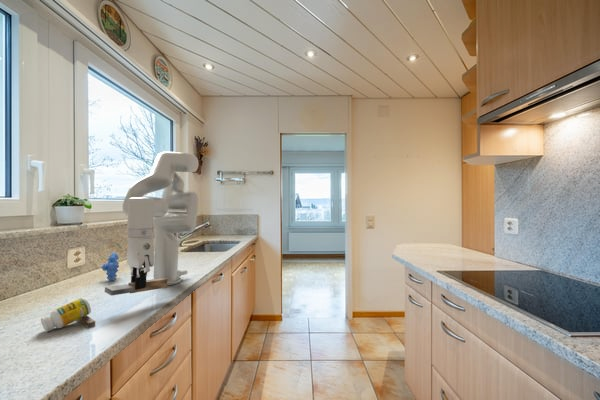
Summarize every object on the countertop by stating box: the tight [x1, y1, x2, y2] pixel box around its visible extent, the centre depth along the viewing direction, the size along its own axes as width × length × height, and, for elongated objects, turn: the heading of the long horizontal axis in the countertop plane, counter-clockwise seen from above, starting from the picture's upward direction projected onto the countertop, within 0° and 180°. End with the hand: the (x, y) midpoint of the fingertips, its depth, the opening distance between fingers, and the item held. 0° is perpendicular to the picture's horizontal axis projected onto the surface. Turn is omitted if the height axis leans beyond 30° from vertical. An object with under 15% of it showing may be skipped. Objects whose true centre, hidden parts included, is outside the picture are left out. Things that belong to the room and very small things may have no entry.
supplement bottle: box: [40, 297, 92, 333], centre depth 72 cm, size 5×5×10 cm
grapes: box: [100, 252, 120, 282], centre depth 117 cm, size 12×7×12 cm, turn 27°
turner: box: [104, 278, 168, 297], centre depth 87 cm, size 18×6×3 cm, turn 146°
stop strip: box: [77, 315, 96, 328], centre depth 75 cm, size 2×10×1 cm, turn 57°
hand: (138, 287), depth 87 cm, fingers closed on turner, 2 cm apart
